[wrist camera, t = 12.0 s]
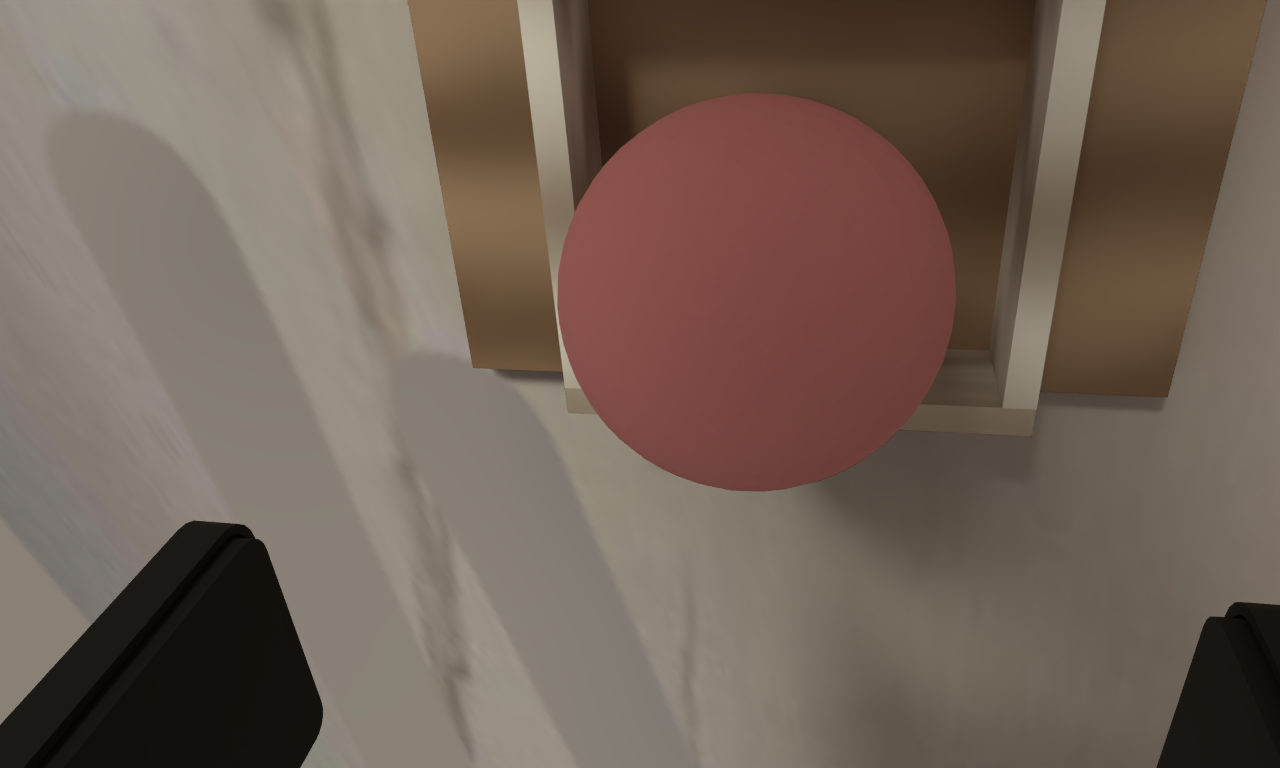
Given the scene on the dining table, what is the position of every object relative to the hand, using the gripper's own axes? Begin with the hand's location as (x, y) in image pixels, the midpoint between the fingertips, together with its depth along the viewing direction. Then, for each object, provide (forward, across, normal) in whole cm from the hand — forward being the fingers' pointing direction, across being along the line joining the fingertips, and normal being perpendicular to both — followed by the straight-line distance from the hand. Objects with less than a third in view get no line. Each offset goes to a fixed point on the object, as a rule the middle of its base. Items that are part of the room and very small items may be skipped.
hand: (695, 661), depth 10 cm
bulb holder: (+18, 0, +1) cm, 19 cm away
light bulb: (+18, 0, 0) cm, 18 cm away
